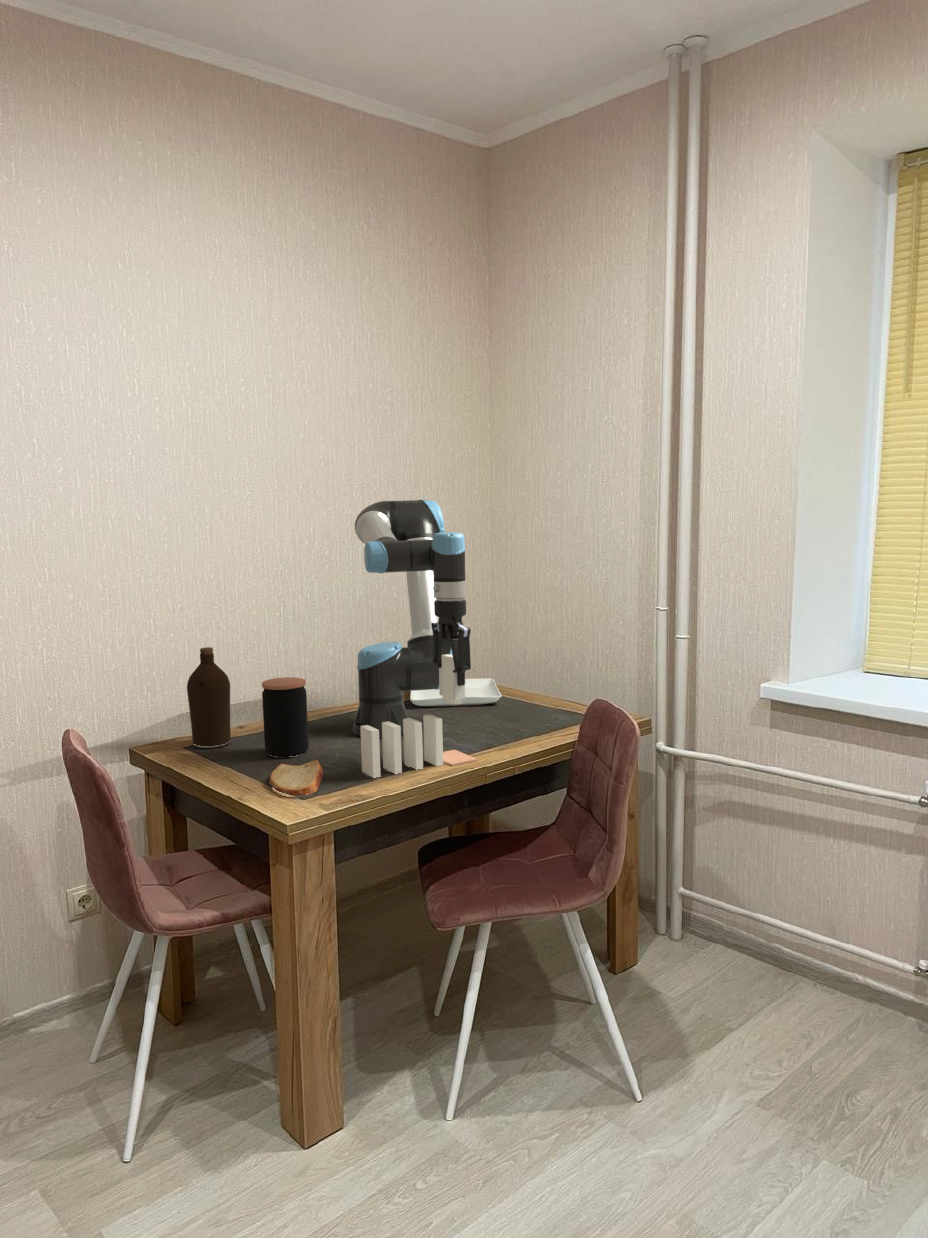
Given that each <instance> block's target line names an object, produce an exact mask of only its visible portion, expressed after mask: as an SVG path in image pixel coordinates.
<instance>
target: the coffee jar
mask: <svg viewBox="0 0 928 1238" xmlns="http://www.w3.org/2000/svg"><path fill="white" fill-rule="evenodd" d="M306 683H307V682H306V679H304V678H301V677H294V676H293V677H291V676H289V677H276V678H269V679H266V680H264V681H262V682H261V687H262V688H263V690H262V692H261V696H262V716H263V736H264V738H263V739H264V751H265V753H266V754H267V755H268V754H269V755H272V756H277V757H289V756H296V755H300V754H303V753H305V752H306V751H308V750H309V747H310V745H309V744H310V743H309V722H308V701H307V690H306V688H305V686H306V685H307V684H306ZM306 753H307V752H306ZM306 753H305V754H306Z"/></svg>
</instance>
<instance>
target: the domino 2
mask: <svg viewBox="0 0 928 1238" xmlns="http://www.w3.org/2000/svg"><path fill="white" fill-rule="evenodd" d="M381 739H382V741H381V742H382V766H383V768H385V769H387V770H388V771H387V770H386V771H387V772H389V771H390V772H392V773H394V774H396V775H399V774H398V773H401V774H403V766H402V765H403V764H402V763H403V762H402V735H401V726H399V725H396V724H394V723H392V722H389V721H388V722H382V738H381ZM385 769H384V770H385ZM390 772H389V773H390ZM392 773H391V774H392ZM394 774H393V775H394Z"/></svg>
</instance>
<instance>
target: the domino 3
mask: <svg viewBox="0 0 928 1238" xmlns="http://www.w3.org/2000/svg"><path fill="white" fill-rule="evenodd" d="M422 722H423V721H422ZM422 722H421V721H418V720H416V719H414V718H412V717H408V718H406V719H403V758H404V759H403V762H404V764H405V766H406V767H408V768H410V767H412V768H414V769H416V770H415V771H418V770H417V769H421V770H423V769H424V754H423V752H424V749H423V748H424V745H423V723H422ZM412 768H411V769H412ZM414 769H413V770H414Z"/></svg>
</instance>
